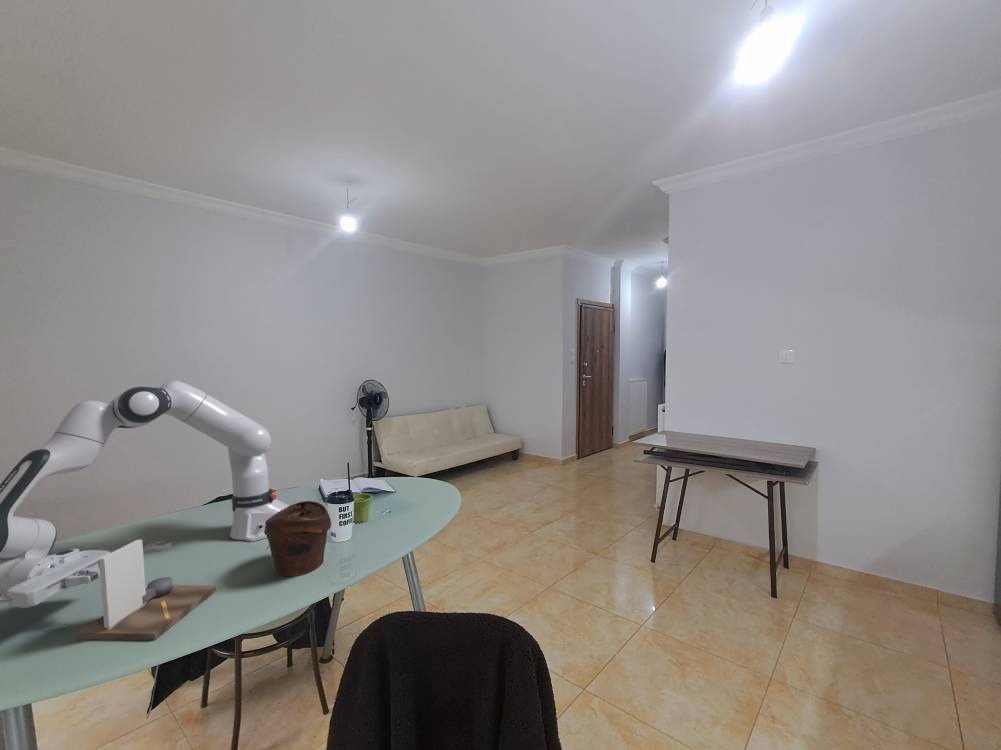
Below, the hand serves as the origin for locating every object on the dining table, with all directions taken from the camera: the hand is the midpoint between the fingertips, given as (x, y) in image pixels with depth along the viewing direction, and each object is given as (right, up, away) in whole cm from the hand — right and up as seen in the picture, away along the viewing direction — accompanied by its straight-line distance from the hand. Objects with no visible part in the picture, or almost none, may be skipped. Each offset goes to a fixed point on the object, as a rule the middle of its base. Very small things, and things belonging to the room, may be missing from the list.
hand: (94, 577), depth 108 cm
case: (+38, -8, +25) cm, 46 cm away
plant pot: (+45, -6, +59) cm, 75 cm away
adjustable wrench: (-21, -9, +33) cm, 40 cm away
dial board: (+13, -10, +2) cm, 16 cm away
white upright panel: (+9, -8, +2) cm, 12 cm away
